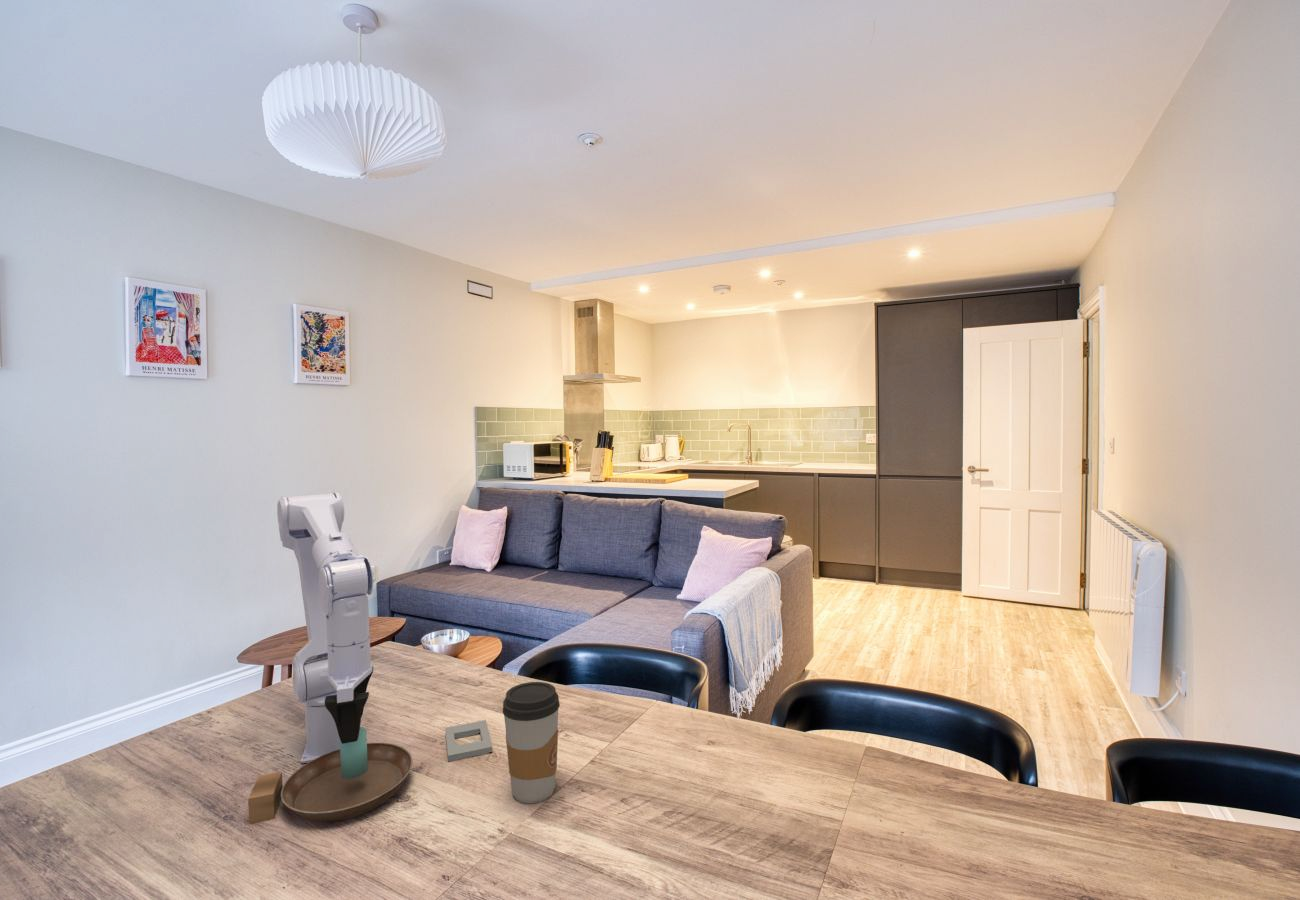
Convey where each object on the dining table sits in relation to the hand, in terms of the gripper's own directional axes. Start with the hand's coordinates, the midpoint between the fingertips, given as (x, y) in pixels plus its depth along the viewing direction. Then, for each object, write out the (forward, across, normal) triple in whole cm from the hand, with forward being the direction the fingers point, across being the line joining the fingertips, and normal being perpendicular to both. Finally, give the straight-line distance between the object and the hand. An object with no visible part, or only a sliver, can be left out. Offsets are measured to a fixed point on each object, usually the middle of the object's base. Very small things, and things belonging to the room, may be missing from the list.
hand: (352, 729), depth 91 cm
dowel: (+7, 0, 0) cm, 7 cm away
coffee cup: (+9, +11, +25) cm, 29 cm away
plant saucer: (+10, 0, -1) cm, 10 cm away
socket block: (+9, -7, +17) cm, 21 cm away
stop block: (+9, 0, -12) cm, 15 cm away
